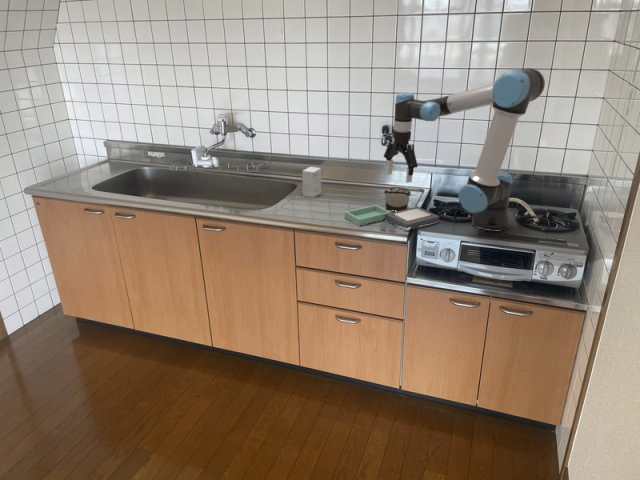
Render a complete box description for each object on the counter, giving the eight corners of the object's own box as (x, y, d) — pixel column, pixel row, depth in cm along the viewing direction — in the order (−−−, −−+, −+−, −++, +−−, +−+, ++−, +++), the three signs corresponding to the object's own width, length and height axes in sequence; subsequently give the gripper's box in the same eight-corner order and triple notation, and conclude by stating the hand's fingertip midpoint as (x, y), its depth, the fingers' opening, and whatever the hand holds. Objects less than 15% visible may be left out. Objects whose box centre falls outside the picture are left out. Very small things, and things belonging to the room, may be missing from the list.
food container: (411, 208, 227) (412, 187, 223) (409, 213, 222) (411, 192, 218) (384, 205, 230) (385, 185, 226) (382, 210, 225) (383, 189, 221)
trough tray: (390, 218, 216) (391, 212, 215) (359, 226, 208) (359, 219, 207) (375, 210, 224) (376, 204, 223) (344, 218, 216) (344, 211, 215)
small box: (310, 191, 250) (310, 166, 244) (321, 193, 247) (321, 168, 242) (302, 196, 243) (302, 170, 238) (313, 198, 240) (313, 172, 235)
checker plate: (430, 217, 211) (431, 214, 211) (407, 222, 205) (407, 220, 205) (416, 210, 218) (417, 208, 218) (393, 216, 212) (393, 213, 212)
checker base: (438, 222, 211) (439, 215, 210) (406, 231, 203) (407, 223, 201) (416, 212, 222) (417, 205, 221) (385, 220, 214) (385, 212, 212)
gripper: (428, 135, 203) (424, 184, 212) (391, 124, 223) (387, 169, 232) (415, 137, 200) (410, 187, 209) (377, 126, 219) (375, 172, 228)
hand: (398, 178), depth 220 cm, fingers open, 13 cm apart
